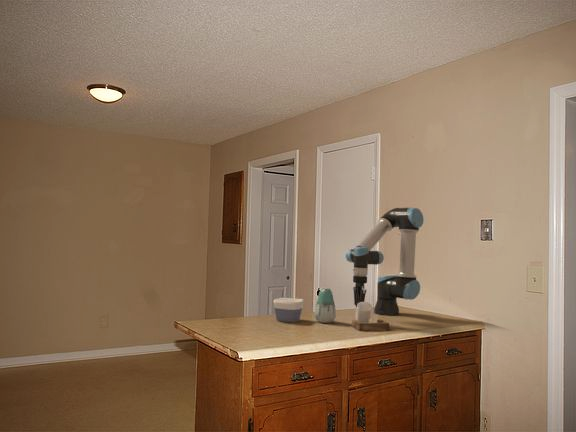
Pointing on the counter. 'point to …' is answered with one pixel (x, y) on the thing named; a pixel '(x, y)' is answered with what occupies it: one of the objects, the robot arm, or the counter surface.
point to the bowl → (288, 309)
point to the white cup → (363, 312)
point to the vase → (325, 307)
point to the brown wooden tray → (370, 325)
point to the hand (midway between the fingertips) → (358, 319)
